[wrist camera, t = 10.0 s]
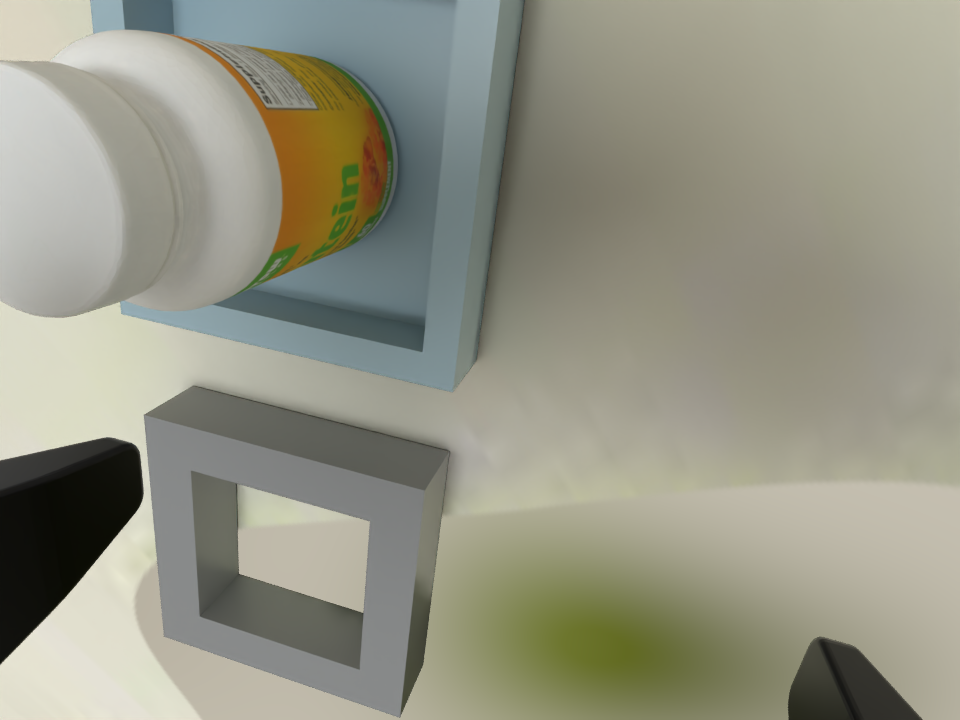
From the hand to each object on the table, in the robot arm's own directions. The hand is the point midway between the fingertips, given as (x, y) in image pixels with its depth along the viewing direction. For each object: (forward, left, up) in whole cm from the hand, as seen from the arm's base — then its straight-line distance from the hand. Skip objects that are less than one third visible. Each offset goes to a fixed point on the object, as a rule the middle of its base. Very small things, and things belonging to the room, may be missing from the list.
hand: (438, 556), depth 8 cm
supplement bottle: (+8, -3, -12) cm, 14 cm away
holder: (+8, +11, -12) cm, 18 cm away
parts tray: (+8, -3, -12) cm, 15 cm away
